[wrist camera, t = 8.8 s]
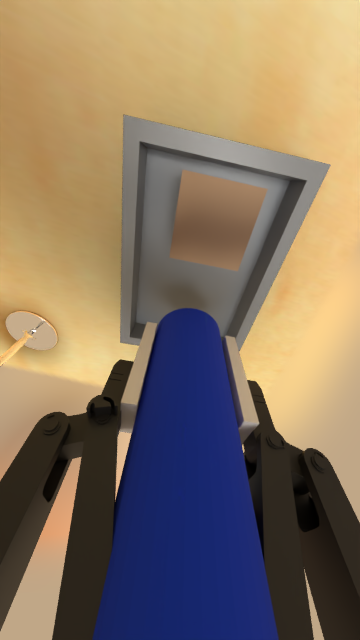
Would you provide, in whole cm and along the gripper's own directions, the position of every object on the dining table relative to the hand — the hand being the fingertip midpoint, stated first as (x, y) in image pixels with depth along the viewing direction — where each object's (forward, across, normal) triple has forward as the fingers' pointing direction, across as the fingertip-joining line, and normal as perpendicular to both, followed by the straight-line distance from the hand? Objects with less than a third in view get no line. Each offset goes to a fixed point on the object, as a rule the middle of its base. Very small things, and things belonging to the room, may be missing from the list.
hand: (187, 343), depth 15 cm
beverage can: (+2, 0, 0) cm, 2 cm away
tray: (+8, 0, +4) cm, 9 cm away
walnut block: (+7, 0, +8) cm, 11 cm away
